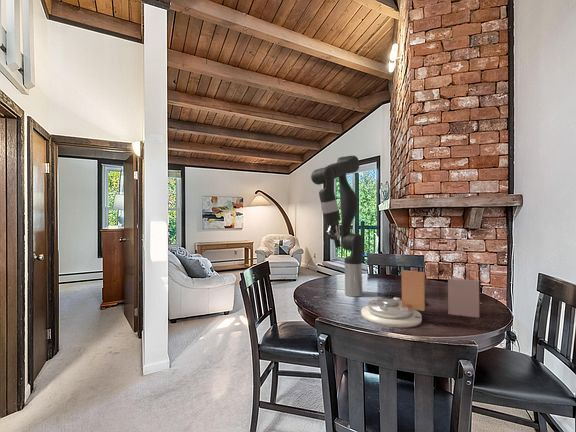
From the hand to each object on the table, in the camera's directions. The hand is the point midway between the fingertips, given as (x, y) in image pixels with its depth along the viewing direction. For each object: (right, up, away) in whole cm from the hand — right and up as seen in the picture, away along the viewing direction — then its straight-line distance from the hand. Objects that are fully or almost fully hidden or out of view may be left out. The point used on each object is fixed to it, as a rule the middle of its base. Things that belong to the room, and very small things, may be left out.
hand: (338, 247), depth 138 cm
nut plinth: (+20, -28, -12) cm, 37 cm away
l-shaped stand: (+22, -26, -14) cm, 36 cm away
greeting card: (+51, -28, -11) cm, 59 cm away
